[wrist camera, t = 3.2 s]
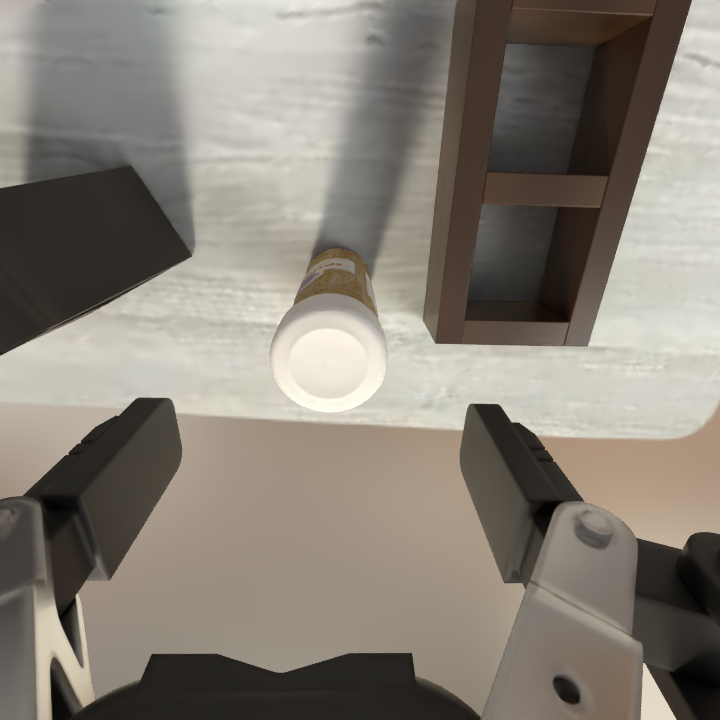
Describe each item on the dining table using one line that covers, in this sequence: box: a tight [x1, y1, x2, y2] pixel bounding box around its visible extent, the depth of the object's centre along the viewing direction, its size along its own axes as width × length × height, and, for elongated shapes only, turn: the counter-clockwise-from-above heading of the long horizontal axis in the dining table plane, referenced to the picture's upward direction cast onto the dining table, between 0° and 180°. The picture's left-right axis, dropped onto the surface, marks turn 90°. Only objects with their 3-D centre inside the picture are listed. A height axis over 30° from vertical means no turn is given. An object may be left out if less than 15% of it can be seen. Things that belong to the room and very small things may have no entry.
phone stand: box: [0, 166, 192, 356], centre depth 20 cm, size 9×6×12 cm, turn 116°
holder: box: [423, 0, 692, 346], centre depth 22 cm, size 10×18×4 cm, turn 178°
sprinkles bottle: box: [270, 248, 388, 412], centre depth 20 cm, size 5×5×14 cm
